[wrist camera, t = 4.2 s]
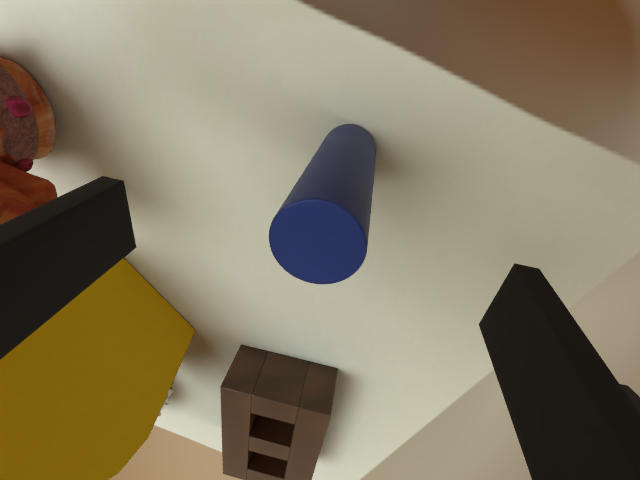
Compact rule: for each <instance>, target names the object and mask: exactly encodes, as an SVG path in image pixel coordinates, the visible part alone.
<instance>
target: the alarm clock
mask: <svg viewBox="0 0 640 480" xmlns="http://www.w3.org/2000/svg"><path fill="white" fill-rule="evenodd" d="M194 333H195V329H194V328H193V327H192V326H191V325H190V324H189V323H188V322H187V321H186V320H185V319H184V318H183V317H182V316H181V315H180V314H179V313H178V312H177V311H176V310H175V309H174V308H173V307H172V306H171V305H170V304H169V303H168V302H167V301H166V300H165V299H164V298H163V297H162V296H161V295H160V294H159V293H158V292H157V291H156V290H155V289H154V288H153V287H152V286H151V285H150V284H149V283H148V282H147V281H146V280H145V279H144V278H143V277H142V276H141V275H140V274H139V273H138V272H137V271H136V270H135V269H134V268H133V267H132V266H131V265H130V264H129V263H128V262H127V261H126V260H125V259H124V258H123V259H122V260H120V261H119V262H118V263H117V264H115V265H114V266H113V267H112V268H111V269H109V270H108V271H107V272H106V273H105V274H103V275H102V276H101V277H100V278H99V279H97V280H96V281H95V282H94V283H93V284H91V285H90V286H89V287H88V288H86V289H85V290H84V291H83V292H82V293H80V294H79V295H78V296H77V297H76V298H74V299H73V300H72V301H71V302H70V303H68V304H67V305H66V306H65V307H64V308H62V309H61V310H60V311H59V312H57V313H56V314H55V315H54V316H53V317H51V318H50V319H49V320H48V321H47V322H45V323H44V324H43V325H42V326H41V327H39V328H38V329H37V330H36V331H35V332H33V333H32V334H31V335H30V336H28V337H27V338H26V339H25V340H24V341H22V342H21V343H20V344H19V345H18V346H16V347H15V348H14V349H13V350H12V351H10V352H9V353H8V354H7V355H6V356H4V357H3V358H2V359H1V360H0V480H109V479H110V478H112V477H113V476H115V475H116V474H118V473H119V472H120V471H121V469H122V468H123V467H124V466H125V465H126V463H127V462H128V461H129V460H130V459H131V457H132V456H133V455H134V454H135V453H136V452H137V450H138V449H139V448H140V447H141V446H142V444H143V443H144V442H145V441H146V439H147V438H148V437H149V434H150V432H151V430H152V428H153V426H154V423H155V421H156V419H157V417H158V414H159V412H160V410H161V407H162V405H163V403H164V401H165V398H166V396H167V394H168V392H169V389H170V387H171V385H172V383H173V380H174V378H175V376H176V374H177V371H178V369H179V367H180V364H181V362H182V360H183V358H184V355H185V353H186V351H187V349H188V346H189V344H190V342H191V340H192V337H193V335H194Z"/></svg>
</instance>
